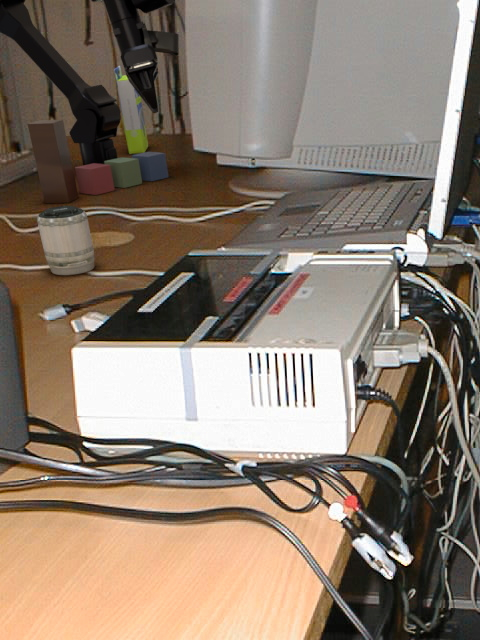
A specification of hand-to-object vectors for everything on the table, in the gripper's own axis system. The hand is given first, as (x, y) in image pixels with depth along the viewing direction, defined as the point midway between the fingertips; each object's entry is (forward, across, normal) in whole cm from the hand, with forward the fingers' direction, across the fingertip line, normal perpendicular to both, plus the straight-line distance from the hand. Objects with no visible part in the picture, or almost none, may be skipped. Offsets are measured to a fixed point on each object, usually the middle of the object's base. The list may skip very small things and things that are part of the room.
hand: (155, 110), depth 173 cm
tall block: (+11, -15, +21) cm, 28 cm away
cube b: (+11, -5, +10) cm, 16 cm away
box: (+4, +36, +6) cm, 37 cm away
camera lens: (+21, -63, +18) cm, 69 cm away
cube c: (+11, -10, +15) cm, 21 cm away
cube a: (+11, -1, +5) cm, 12 cm away
